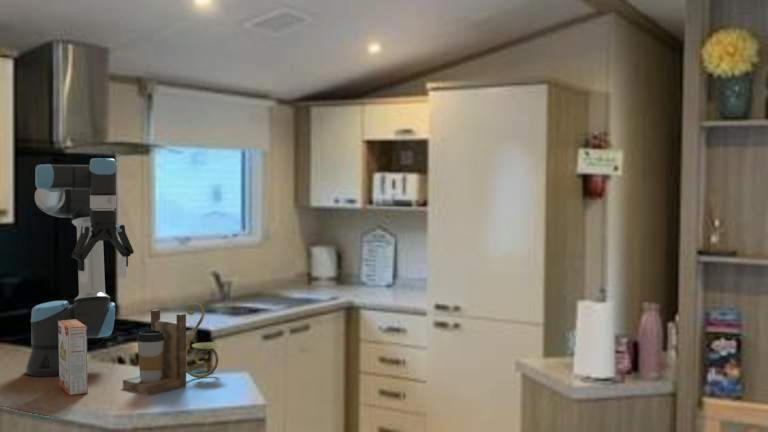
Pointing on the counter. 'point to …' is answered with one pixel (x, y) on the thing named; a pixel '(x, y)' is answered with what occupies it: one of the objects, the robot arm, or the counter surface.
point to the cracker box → (73, 357)
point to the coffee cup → (150, 355)
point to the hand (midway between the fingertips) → (103, 279)
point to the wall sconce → (201, 345)
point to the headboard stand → (166, 357)
